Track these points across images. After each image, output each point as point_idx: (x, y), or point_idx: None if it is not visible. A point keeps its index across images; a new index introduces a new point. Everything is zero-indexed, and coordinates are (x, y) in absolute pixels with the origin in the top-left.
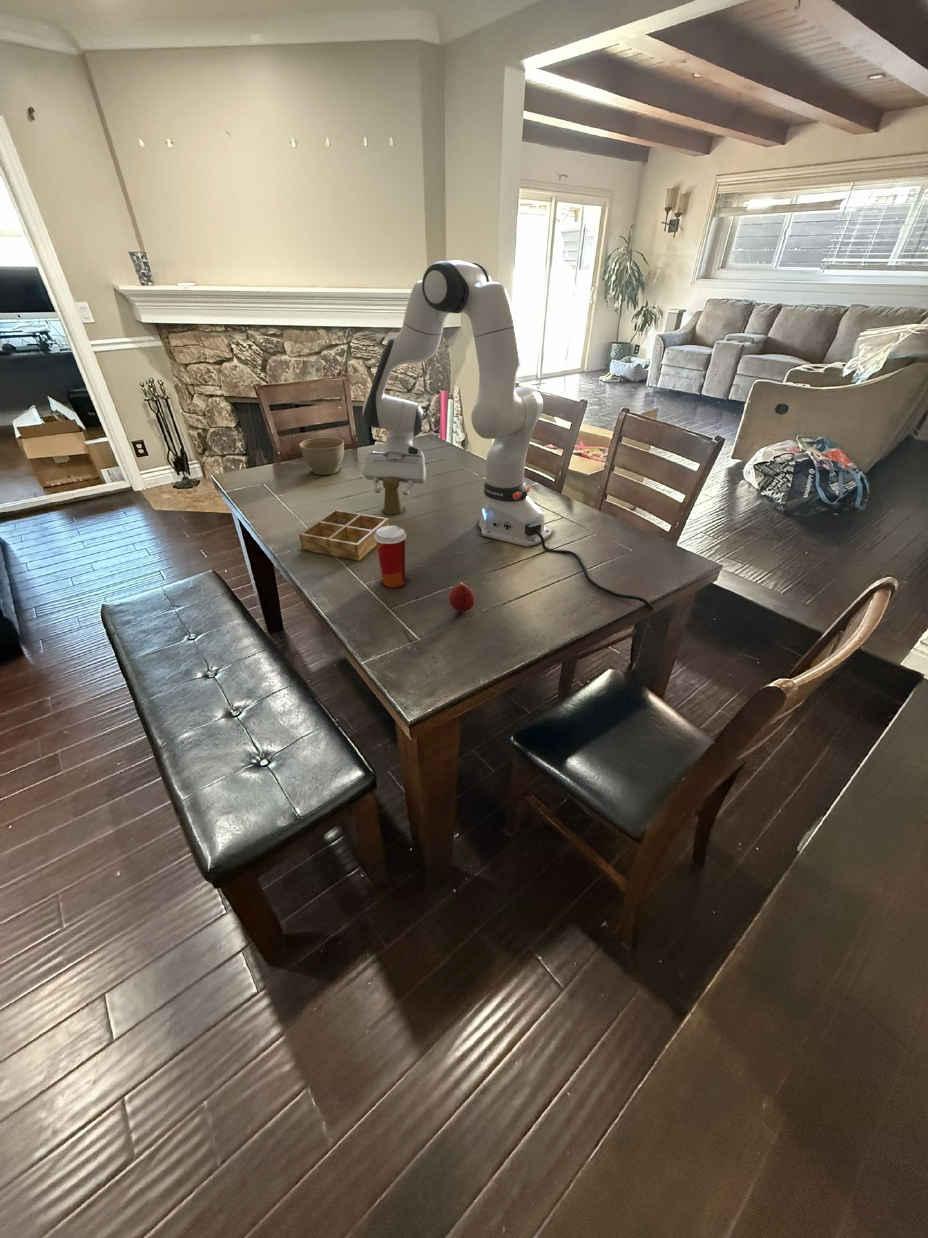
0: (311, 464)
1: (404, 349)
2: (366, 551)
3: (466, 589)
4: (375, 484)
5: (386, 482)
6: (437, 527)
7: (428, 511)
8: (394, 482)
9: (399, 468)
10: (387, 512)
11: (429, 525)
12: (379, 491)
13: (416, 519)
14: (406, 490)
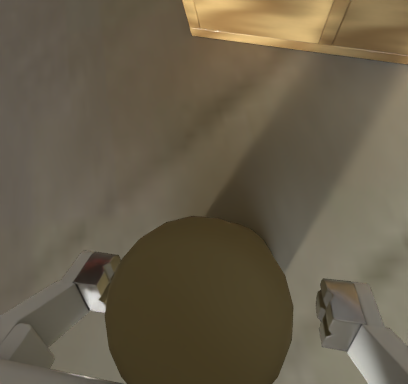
0: None
1: None
2: None
3: None
4: (386, 339)
5: (228, 229)
6: (18, 118)
7: (55, 276)
8: (138, 240)
9: None
10: (245, 227)
11: (47, 130)
12: (321, 300)
13: (101, 180)
14: (81, 265)
